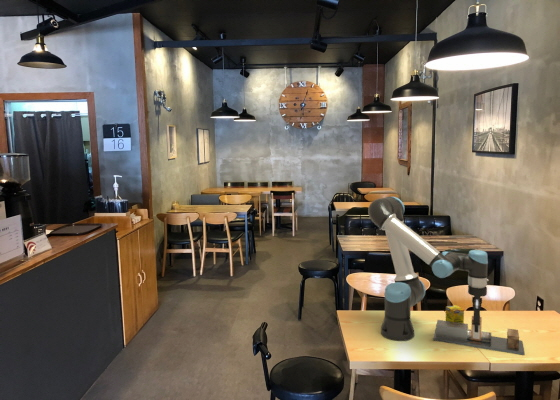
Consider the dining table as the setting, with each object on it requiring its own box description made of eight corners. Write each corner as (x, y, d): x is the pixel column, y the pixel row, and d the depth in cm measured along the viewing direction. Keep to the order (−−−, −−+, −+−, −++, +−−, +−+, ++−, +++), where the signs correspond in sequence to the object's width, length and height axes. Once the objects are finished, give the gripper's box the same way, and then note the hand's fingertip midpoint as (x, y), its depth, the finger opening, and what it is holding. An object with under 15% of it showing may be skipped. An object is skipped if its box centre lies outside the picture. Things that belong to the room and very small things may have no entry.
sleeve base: (433, 340, 191) (433, 326, 190) (435, 330, 201) (436, 317, 201) (524, 355, 175) (525, 340, 174) (522, 343, 186) (522, 329, 185)
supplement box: (453, 333, 198) (453, 310, 197) (445, 328, 204) (445, 306, 202) (463, 331, 200) (464, 309, 198) (455, 326, 205) (455, 304, 204)
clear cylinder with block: (442, 335, 192) (442, 315, 191) (443, 331, 196) (443, 312, 195) (491, 342, 184) (491, 321, 183) (491, 338, 187) (491, 318, 186)
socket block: (508, 347, 179) (508, 335, 179) (507, 340, 186) (507, 328, 186) (518, 349, 178) (519, 337, 177) (517, 341, 185) (517, 329, 184)
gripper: (487, 292, 176) (485, 345, 179) (486, 280, 192) (485, 330, 194) (467, 290, 179) (466, 342, 182) (468, 279, 195) (467, 327, 197)
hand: (476, 336), depth 188 cm, fingers closed on clear cylinder with block, 4 cm apart
